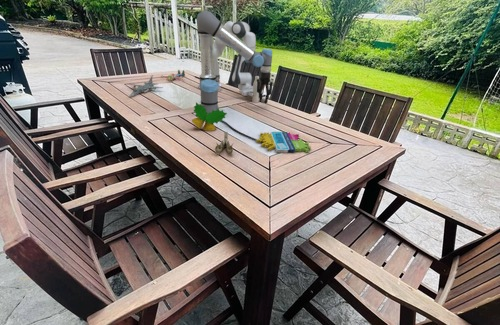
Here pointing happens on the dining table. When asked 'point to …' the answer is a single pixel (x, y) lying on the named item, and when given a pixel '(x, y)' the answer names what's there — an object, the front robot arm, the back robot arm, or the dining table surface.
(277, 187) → the dining table surface
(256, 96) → the bottle
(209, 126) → the ornament
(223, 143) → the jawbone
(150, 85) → the airplane
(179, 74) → the toy
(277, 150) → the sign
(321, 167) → the dining table surface
